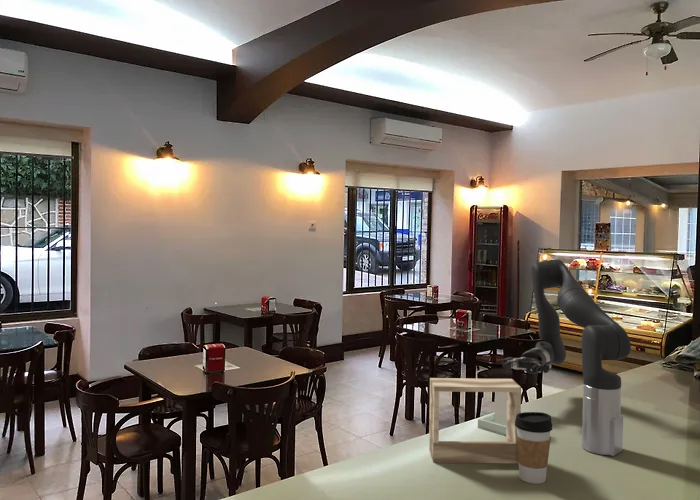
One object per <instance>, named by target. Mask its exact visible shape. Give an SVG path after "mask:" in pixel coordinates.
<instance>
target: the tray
mask: <svg viewBox="0 0 700 500" xmlns="http://www.w3.org/2000/svg"><path fill="white" fill-rule="evenodd" d="M477 428H479V429H482V430H484V431H487V432H488V431H489V432H492V433H496V434H497V435H503V436H504V437H506V426H504V425H500V424H497V423H495V411H494V412H492V413H489V414H487V415H484V416H482V417H480V418H478V419H477Z"/></svg>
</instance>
